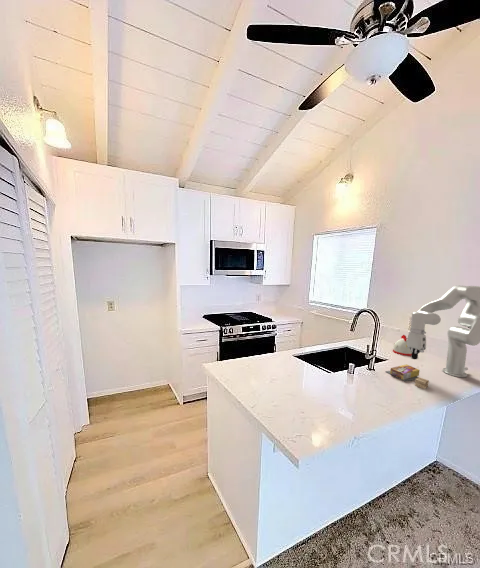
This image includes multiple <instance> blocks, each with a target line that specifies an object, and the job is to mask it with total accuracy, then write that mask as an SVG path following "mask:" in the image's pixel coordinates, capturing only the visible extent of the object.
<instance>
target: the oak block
mask: <svg viewBox="0 0 480 568" xmlns="http://www.w3.org/2000/svg"><path fill="white" fill-rule="evenodd" d="M417 377H418V378H417V379H415V380H414V382H415V383H414V386H416V387H417V388H418V387H419V388H421V389H424V390H425V389H427V388H429V384H430V382H429V380H428V379H426V378H423V377H420V376H417Z"/></svg>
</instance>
